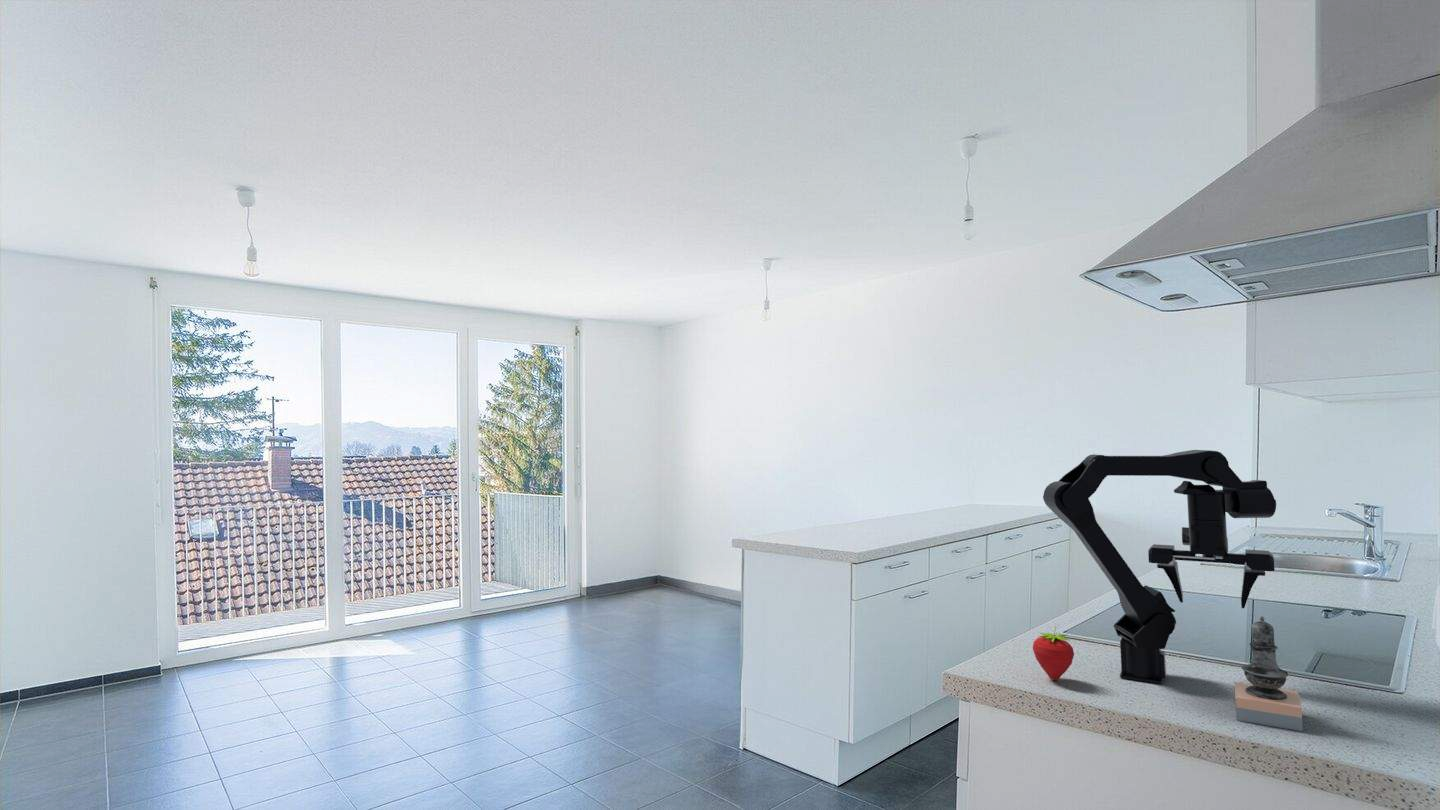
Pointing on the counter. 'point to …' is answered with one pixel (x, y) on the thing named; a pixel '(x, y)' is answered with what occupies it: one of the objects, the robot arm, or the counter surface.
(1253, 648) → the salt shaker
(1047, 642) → the strawberry
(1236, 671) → the counter surface
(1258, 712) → the peach and grey block
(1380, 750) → the counter surface
